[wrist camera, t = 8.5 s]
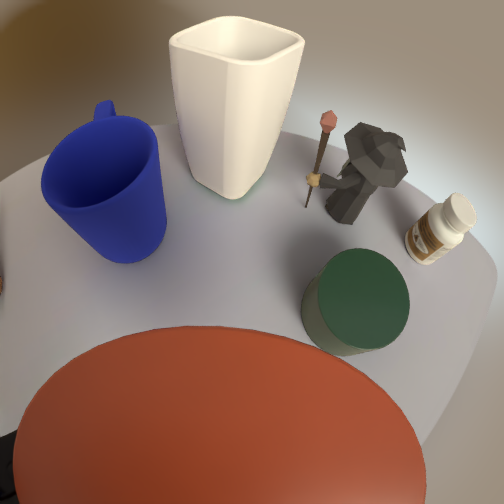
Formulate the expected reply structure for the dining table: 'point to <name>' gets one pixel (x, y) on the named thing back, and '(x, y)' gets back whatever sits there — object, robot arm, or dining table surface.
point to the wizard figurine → (358, 167)
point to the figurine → (0, 284)
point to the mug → (109, 185)
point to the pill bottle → (440, 229)
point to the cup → (232, 97)
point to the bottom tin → (355, 303)
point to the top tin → (214, 426)
